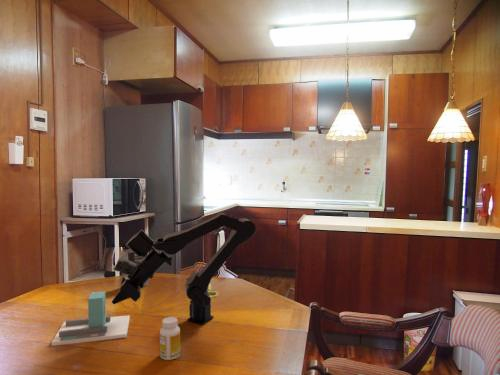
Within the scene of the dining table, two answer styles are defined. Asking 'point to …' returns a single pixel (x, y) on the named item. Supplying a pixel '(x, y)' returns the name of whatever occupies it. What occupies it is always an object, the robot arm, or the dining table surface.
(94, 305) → the switch tab
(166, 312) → the dining table surface
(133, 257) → the coffee box
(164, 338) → the supplement bottle
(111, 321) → the white rail base plate
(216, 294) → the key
